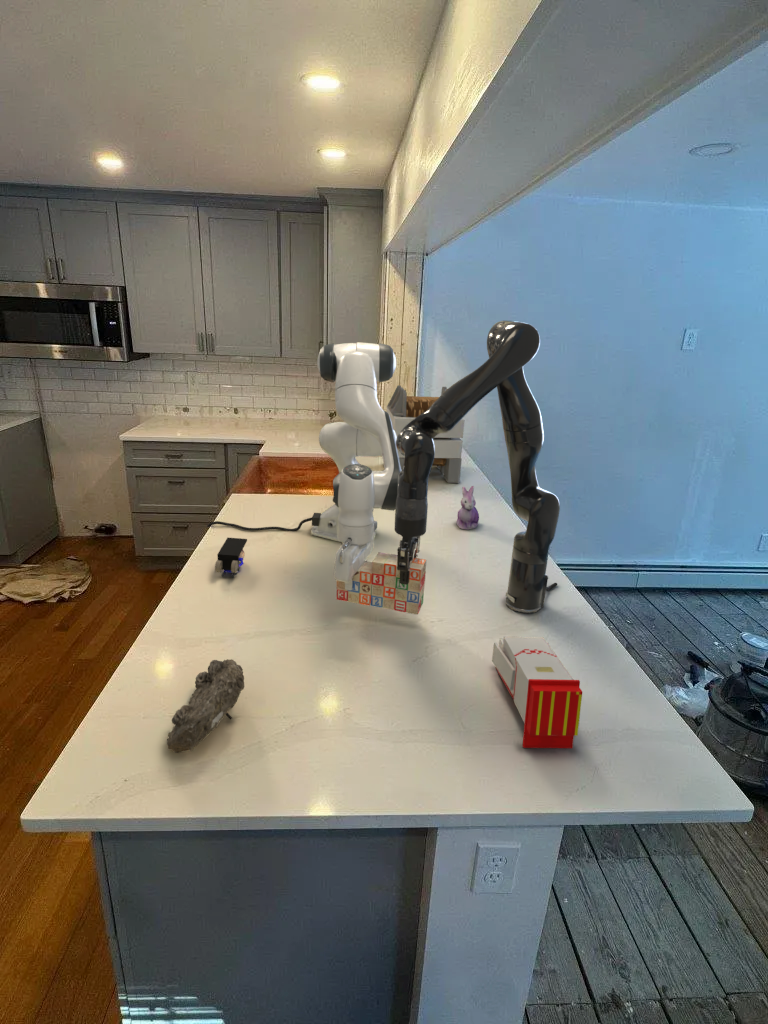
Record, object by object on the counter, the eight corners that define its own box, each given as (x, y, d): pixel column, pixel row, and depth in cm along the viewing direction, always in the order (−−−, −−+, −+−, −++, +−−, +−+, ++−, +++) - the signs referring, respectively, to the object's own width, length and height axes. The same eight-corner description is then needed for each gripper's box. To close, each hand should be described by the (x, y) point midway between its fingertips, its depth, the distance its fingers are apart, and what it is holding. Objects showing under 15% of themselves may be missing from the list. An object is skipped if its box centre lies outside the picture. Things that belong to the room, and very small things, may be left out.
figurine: (464, 532, 204) (468, 492, 199) (449, 522, 212) (452, 484, 207) (486, 528, 208) (490, 489, 203) (469, 519, 216) (473, 481, 211)
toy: (540, 620, 128) (592, 687, 99) (535, 674, 131) (584, 755, 102) (487, 619, 128) (523, 686, 99) (483, 673, 131) (517, 754, 101)
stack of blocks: (335, 600, 143) (335, 555, 139) (344, 589, 148) (344, 546, 144) (418, 614, 138) (421, 569, 133) (423, 602, 143) (426, 558, 139)
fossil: (192, 660, 117) (244, 628, 112) (224, 691, 120) (276, 661, 115) (142, 746, 98) (202, 712, 93) (182, 779, 101) (242, 748, 96)
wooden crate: (382, 463, 289) (386, 382, 275) (445, 464, 293) (451, 384, 279) (390, 482, 257) (394, 392, 243) (460, 483, 261) (468, 394, 247)
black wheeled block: (238, 584, 162) (249, 557, 175) (236, 562, 158) (247, 536, 172) (215, 584, 161) (227, 556, 175) (212, 561, 158) (225, 535, 171)
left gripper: (354, 549, 128) (352, 603, 133) (379, 519, 147) (377, 568, 152) (327, 545, 130) (327, 598, 135) (356, 516, 148) (355, 564, 153)
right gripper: (420, 525, 126) (415, 593, 131) (432, 505, 139) (428, 567, 144) (387, 521, 127) (384, 588, 133) (403, 502, 140) (400, 563, 146)
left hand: (354, 582), depth 143 cm, fingers closed on stack of blocks, 6 cm apart
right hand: (407, 577), depth 139 cm, fingers closed on stack of blocks, 6 cm apart
